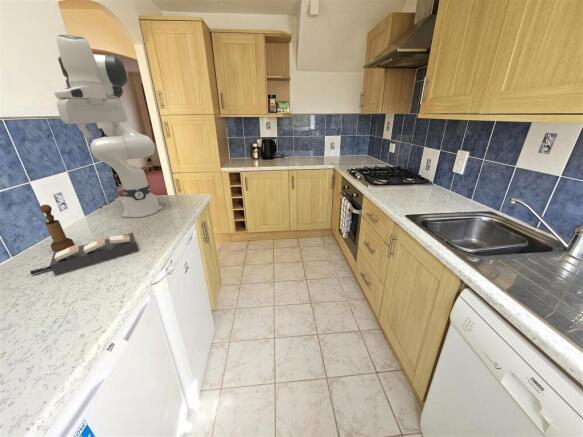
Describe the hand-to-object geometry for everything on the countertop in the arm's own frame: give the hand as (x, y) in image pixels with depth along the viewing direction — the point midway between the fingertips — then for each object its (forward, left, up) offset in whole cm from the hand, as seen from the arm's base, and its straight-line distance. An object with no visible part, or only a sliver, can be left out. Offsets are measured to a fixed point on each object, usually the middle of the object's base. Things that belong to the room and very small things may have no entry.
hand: (103, 136), depth 87 cm
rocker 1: (+12, -20, -35) cm, 42 cm away
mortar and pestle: (-8, -24, -41) cm, 48 cm away
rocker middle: (+12, -12, -35) cm, 39 cm away
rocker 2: (+12, -5, -35) cm, 37 cm away
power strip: (+10, -15, -41) cm, 45 cm away
